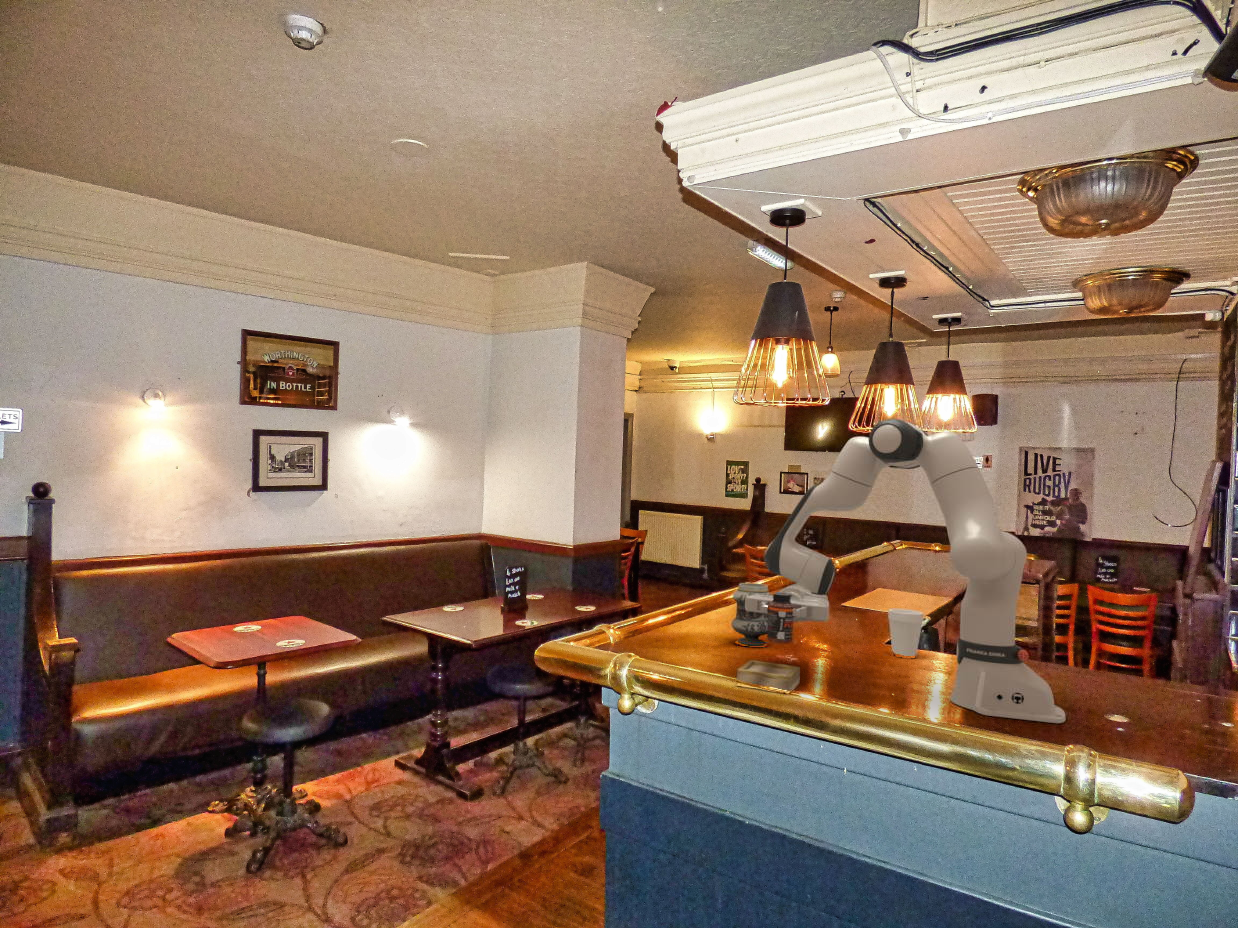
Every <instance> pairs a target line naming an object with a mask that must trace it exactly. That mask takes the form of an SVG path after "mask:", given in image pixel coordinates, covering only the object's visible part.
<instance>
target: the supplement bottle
mask: <svg viewBox="0 0 1238 928" xmlns="http://www.w3.org/2000/svg"><path fill="white" fill-rule="evenodd" d="M772 596H773V601H771V602H770V603H769V608H768V626H767V634H766V639H767V641H769V642H772V643H776V644H777V643H778V644H790V643H792V641H793V634H794V633H793V632H794V622H793V616H792V614H793V612H792V611H793V609H794V605H793V604H792V603H791V601H790V594H788V593H779V591H778V592H773V595H772Z"/></svg>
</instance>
